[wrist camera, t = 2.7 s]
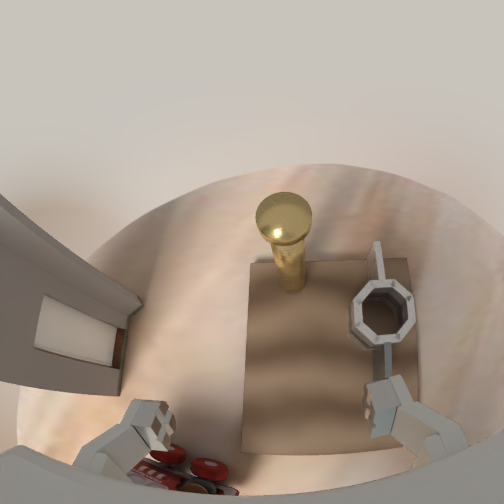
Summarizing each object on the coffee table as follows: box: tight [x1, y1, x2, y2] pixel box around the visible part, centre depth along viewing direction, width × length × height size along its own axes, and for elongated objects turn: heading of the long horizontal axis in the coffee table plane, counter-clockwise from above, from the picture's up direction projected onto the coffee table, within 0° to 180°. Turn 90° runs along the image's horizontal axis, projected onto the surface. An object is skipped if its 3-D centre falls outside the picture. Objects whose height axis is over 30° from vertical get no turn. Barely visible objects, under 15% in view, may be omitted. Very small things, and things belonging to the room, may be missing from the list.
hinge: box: [346, 241, 416, 381], centre depth 27 cm, size 15×6×5 cm, turn 177°
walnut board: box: [241, 258, 418, 455], centre depth 29 cm, size 22×19×1 cm
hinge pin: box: [256, 192, 312, 294], centre depth 27 cm, size 4×4×14 cm
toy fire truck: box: [126, 444, 239, 496], centre depth 21 cm, size 7×12×10 cm, turn 76°
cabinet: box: [0, 194, 144, 396], centre depth 21 cm, size 21×10×28 cm, turn 128°
